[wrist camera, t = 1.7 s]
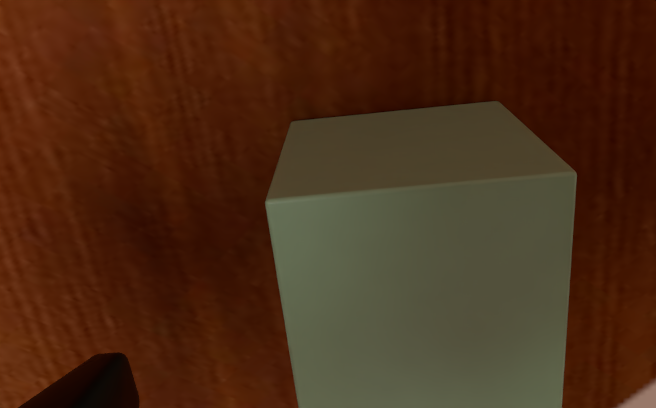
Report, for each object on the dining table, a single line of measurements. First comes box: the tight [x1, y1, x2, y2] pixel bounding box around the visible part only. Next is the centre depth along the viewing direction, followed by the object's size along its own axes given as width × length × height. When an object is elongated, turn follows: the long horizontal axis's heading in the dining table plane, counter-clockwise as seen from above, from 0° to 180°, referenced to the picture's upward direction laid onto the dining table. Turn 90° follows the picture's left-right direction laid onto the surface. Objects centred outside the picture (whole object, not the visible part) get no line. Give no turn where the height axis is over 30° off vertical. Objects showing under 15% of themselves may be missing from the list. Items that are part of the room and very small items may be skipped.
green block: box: [265, 101, 577, 408], centre depth 11 cm, size 4×4×4 cm
